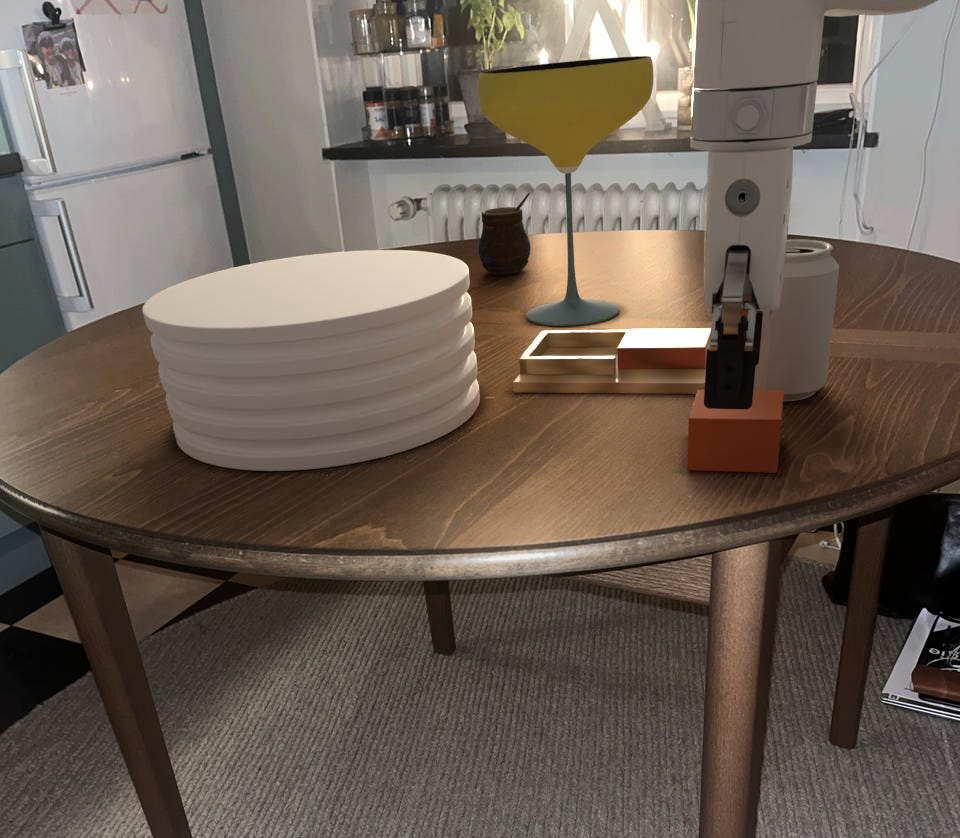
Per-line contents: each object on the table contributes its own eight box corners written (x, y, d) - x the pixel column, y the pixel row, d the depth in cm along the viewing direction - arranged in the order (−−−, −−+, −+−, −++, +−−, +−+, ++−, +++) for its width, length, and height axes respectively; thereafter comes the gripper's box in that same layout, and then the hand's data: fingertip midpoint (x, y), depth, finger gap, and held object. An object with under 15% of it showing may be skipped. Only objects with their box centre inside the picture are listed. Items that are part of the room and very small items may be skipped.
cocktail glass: (679, 300, 114) (685, 52, 101) (599, 341, 102) (594, 66, 89) (550, 290, 124) (540, 63, 110) (464, 327, 112) (441, 77, 99)
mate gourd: (480, 268, 139) (474, 192, 133) (533, 264, 138) (529, 187, 133) (478, 279, 132) (472, 200, 127) (534, 275, 132) (530, 195, 127)
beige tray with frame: (731, 347, 96) (733, 317, 95) (720, 394, 85) (722, 360, 84) (546, 348, 102) (545, 319, 100) (513, 392, 90) (511, 360, 89)
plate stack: (542, 395, 89) (536, 264, 83) (292, 499, 73) (260, 347, 67) (355, 352, 107) (338, 241, 101) (121, 428, 91) (84, 303, 85)
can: (837, 382, 85) (853, 236, 79) (809, 409, 80) (824, 256, 74) (754, 373, 89) (764, 234, 83) (722, 399, 84) (729, 252, 78)
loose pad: (779, 440, 75) (784, 389, 73) (777, 473, 70) (781, 419, 68) (695, 438, 77) (697, 389, 75) (687, 470, 72) (688, 418, 70)
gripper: (813, 130, 53) (783, 428, 63) (814, 104, 67) (789, 352, 76) (675, 136, 56) (665, 425, 65) (703, 110, 69) (692, 350, 78)
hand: (732, 385), depth 70 cm, fingers open, 9 cm apart
